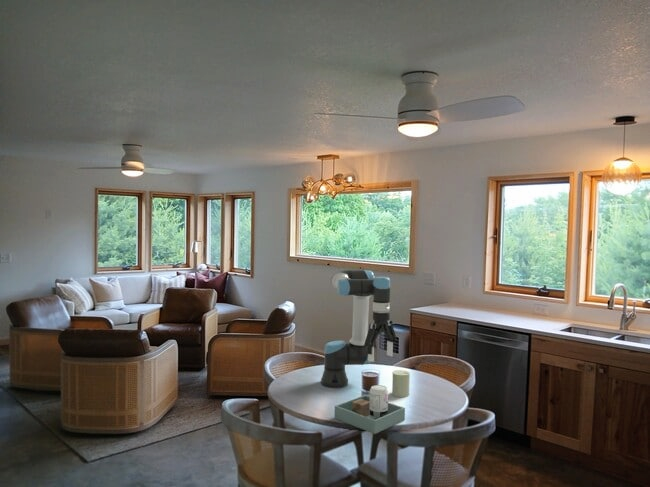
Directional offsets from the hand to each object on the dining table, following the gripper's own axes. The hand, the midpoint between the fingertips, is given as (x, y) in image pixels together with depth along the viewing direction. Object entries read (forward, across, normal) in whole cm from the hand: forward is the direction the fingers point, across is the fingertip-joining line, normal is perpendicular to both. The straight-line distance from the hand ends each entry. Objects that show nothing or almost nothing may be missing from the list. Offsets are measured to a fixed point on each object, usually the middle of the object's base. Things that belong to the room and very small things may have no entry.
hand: (380, 358), depth 215 cm
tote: (+29, -1, +5) cm, 29 cm away
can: (+29, +37, +15) cm, 49 cm away
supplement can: (+28, -1, 0) cm, 28 cm away
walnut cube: (+28, -1, +10) cm, 30 cm away
